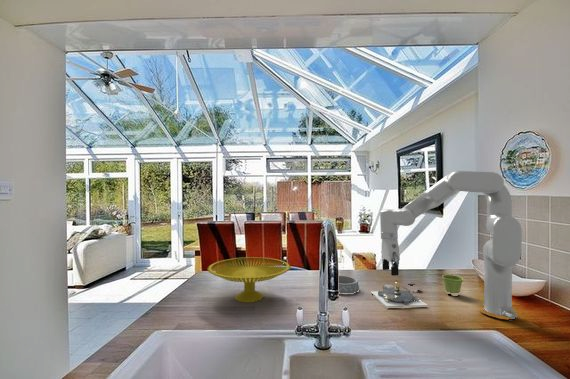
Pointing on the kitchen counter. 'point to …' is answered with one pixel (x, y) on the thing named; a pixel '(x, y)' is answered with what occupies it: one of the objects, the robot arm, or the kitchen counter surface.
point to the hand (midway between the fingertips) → (390, 272)
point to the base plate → (396, 304)
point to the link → (388, 290)
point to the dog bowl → (348, 284)
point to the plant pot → (452, 283)
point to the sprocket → (399, 296)
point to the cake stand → (249, 275)
